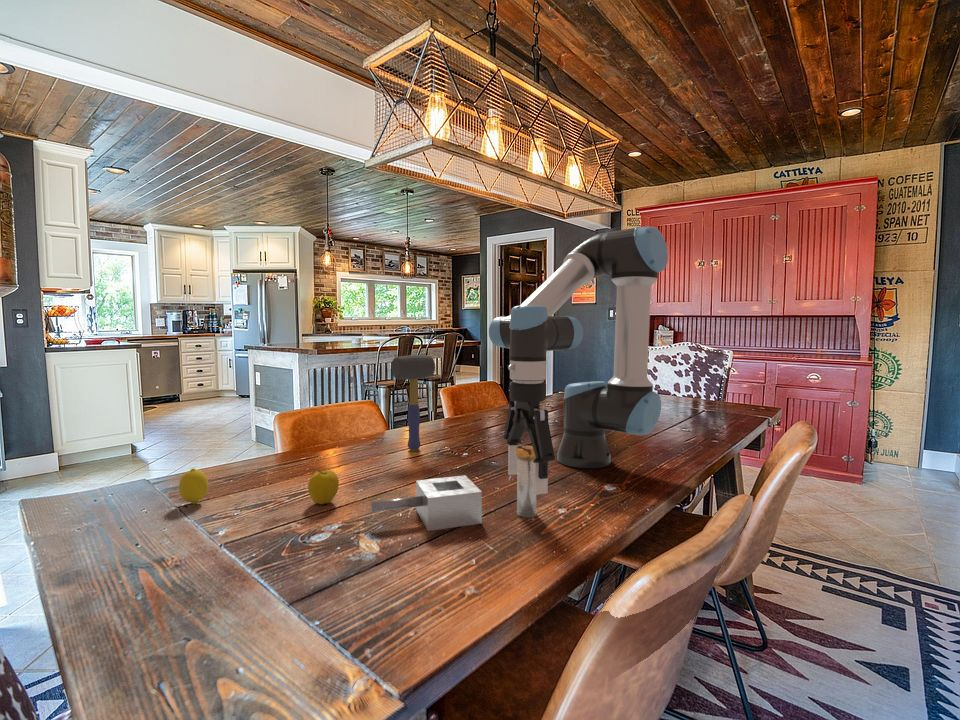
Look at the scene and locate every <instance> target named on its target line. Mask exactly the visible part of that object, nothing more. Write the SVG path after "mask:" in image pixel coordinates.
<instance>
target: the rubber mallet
mask: <svg viewBox="0 0 960 720" xmlns="http://www.w3.org/2000/svg"><path fill="white" fill-rule="evenodd" d="M435 370H436V363H435V360H434V358H433V357H432V356H431V355H428V354H427V355H425V354H424V355H423V354H411V355H410V354H408V355H403V356H395V357H394V358H393V359H392V362H391V373H392V376H393V377H394V378H395V380H409V404H408V410H407V424H408V441H407V448H408V449H409V451H413V452H415V451H416V452H417V451H419V450H420V447H421V440H420V424H421V423H420V422H421V416H420V415H421V413H420V406H419V394H418V393H419V389H418V388H419V385H418V383H419V382H418V381H419V380H418V379H424V378H430V377H432V376H433V375H434V374H435Z"/></svg>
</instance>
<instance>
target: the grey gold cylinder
mask: <svg viewBox="0 0 960 720" xmlns="http://www.w3.org/2000/svg"><path fill="white" fill-rule="evenodd" d="M516 456H517V474H516V475H517V477H516V479H517V480H516V481H517V483H516V491H517V492H516V514H517V516H518V517H521V518H525V519H526V518H528V519H529V518H530V519H531V518H535V517H536V515H537V495H535V494H534V462H533V461H534V459H536V457H535V453H534V450H533V446H532V445H521V446H518V447H516Z"/></svg>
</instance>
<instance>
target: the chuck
mask: <svg viewBox="0 0 960 720" xmlns="http://www.w3.org/2000/svg"><path fill="white" fill-rule="evenodd" d="M410 508H411V509H412V508H416V509H415V511H416V513H417V514H418V516H419V517H420V520H421V522H422V524H423V525H424V527H425V528H426V530H427V531H428V532H430V531H438V530H447V529H451V528H452V529H453V528H459V527H466V526H474V525H479V524H483V523H482V522H483V492H482V490H481V489H480V488H479V487H478V486H476V484H475V483H474V482H473V481H472V480H471V479H470V478H468V476H467V475H455V476H447V477H446V476H444V477H437V478H427V479H418V480H415V496H409V497H401V498H393V499H384V500H376V501H371V502H370V511H371V513H377V512H378V513H379V512H386V511H394V510H401V509H403V510H404V509H410Z"/></svg>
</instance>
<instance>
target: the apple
mask: <svg viewBox="0 0 960 720" xmlns="http://www.w3.org/2000/svg"><path fill="white" fill-rule="evenodd" d="M339 483H340V480H339V477H338V475H337V473H335V472H334V471H332V470H317V472H315V473H314V474H312V476H311V477H310V479H309V480H308V483H307V484H308V485H307V491H308V494H309V496H310V498H311V500H312V502H313V503H315V504H319V505H325V504H330V503H331V502H332V501H333V499H334V498H335V497H336V495H337V493H338V490H339V486H340V484H339Z"/></svg>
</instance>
